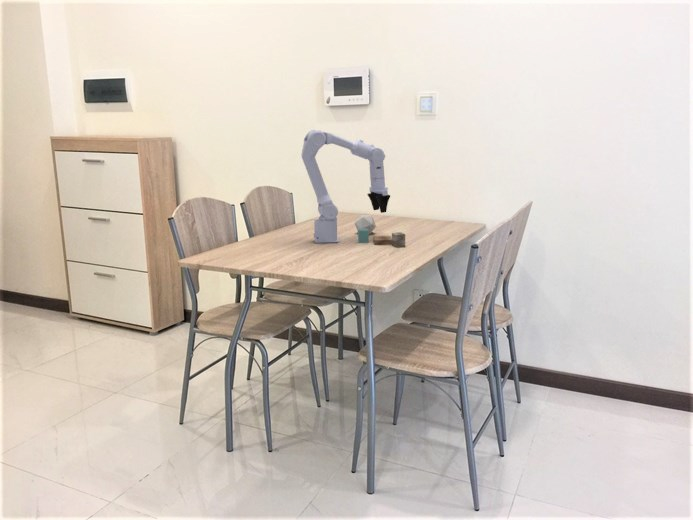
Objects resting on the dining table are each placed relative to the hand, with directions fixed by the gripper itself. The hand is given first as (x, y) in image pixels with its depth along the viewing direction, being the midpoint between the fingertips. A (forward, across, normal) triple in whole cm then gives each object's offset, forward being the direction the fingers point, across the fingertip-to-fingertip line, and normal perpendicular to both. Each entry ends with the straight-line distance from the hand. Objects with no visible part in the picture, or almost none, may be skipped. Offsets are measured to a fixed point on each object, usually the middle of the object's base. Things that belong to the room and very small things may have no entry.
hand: (379, 211), depth 238 cm
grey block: (+11, -17, 0) cm, 21 cm away
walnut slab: (+11, -10, +4) cm, 15 cm away
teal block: (+10, -4, +10) cm, 15 cm away
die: (+11, +11, +3) cm, 16 cm away
